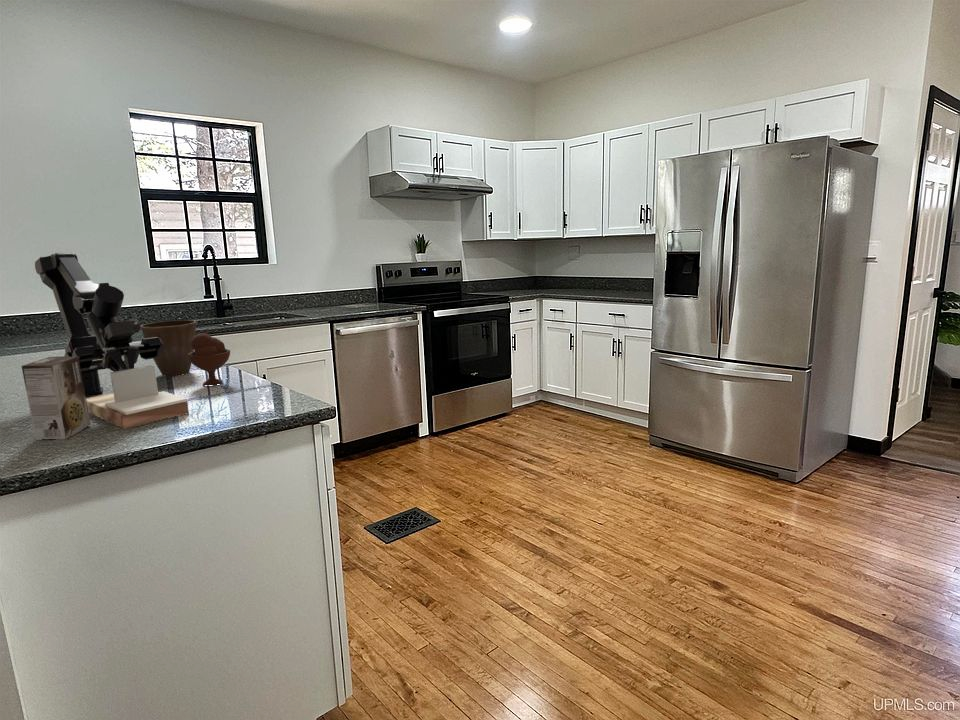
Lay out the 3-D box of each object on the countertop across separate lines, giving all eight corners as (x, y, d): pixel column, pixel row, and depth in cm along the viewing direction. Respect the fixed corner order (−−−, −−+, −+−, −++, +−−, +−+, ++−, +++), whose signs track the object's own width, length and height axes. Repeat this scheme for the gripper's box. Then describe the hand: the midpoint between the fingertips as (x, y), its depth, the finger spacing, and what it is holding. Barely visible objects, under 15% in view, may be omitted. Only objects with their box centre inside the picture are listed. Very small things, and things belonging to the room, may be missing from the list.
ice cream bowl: (218, 389, 156) (211, 336, 153) (182, 388, 159) (175, 335, 156) (241, 380, 167) (235, 330, 163) (207, 379, 169) (201, 329, 166)
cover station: (84, 410, 139) (82, 399, 138) (145, 397, 149) (144, 386, 149) (124, 429, 124) (122, 416, 123) (188, 413, 135) (187, 401, 134)
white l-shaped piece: (105, 405, 130) (100, 373, 129) (164, 393, 140) (159, 363, 139) (126, 414, 123) (121, 381, 122) (186, 401, 133) (182, 369, 132)
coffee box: (61, 426, 127) (49, 356, 123) (92, 425, 127) (80, 355, 124) (33, 440, 118) (19, 365, 114) (66, 439, 118) (53, 364, 115)
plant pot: (159, 382, 167) (151, 328, 163) (140, 375, 176) (132, 324, 173) (210, 372, 178) (204, 322, 174) (189, 366, 187) (183, 318, 184)
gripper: (66, 313, 127) (92, 366, 123) (154, 304, 141) (180, 352, 137) (61, 344, 134) (85, 396, 129) (145, 333, 148) (170, 379, 143)
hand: (132, 380), depth 135 cm, fingers closed, pressing on white l-shaped piece
